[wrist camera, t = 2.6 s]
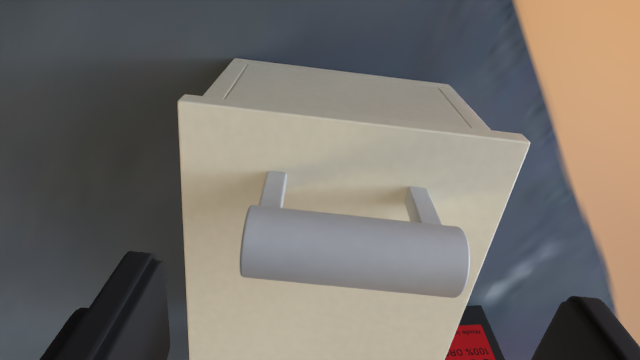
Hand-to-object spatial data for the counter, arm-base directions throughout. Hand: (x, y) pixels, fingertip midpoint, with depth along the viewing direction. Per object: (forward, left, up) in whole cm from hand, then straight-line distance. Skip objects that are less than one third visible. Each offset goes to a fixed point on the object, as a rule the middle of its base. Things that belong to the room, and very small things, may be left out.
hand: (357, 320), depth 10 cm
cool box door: (+5, 0, -7) cm, 9 cm away
